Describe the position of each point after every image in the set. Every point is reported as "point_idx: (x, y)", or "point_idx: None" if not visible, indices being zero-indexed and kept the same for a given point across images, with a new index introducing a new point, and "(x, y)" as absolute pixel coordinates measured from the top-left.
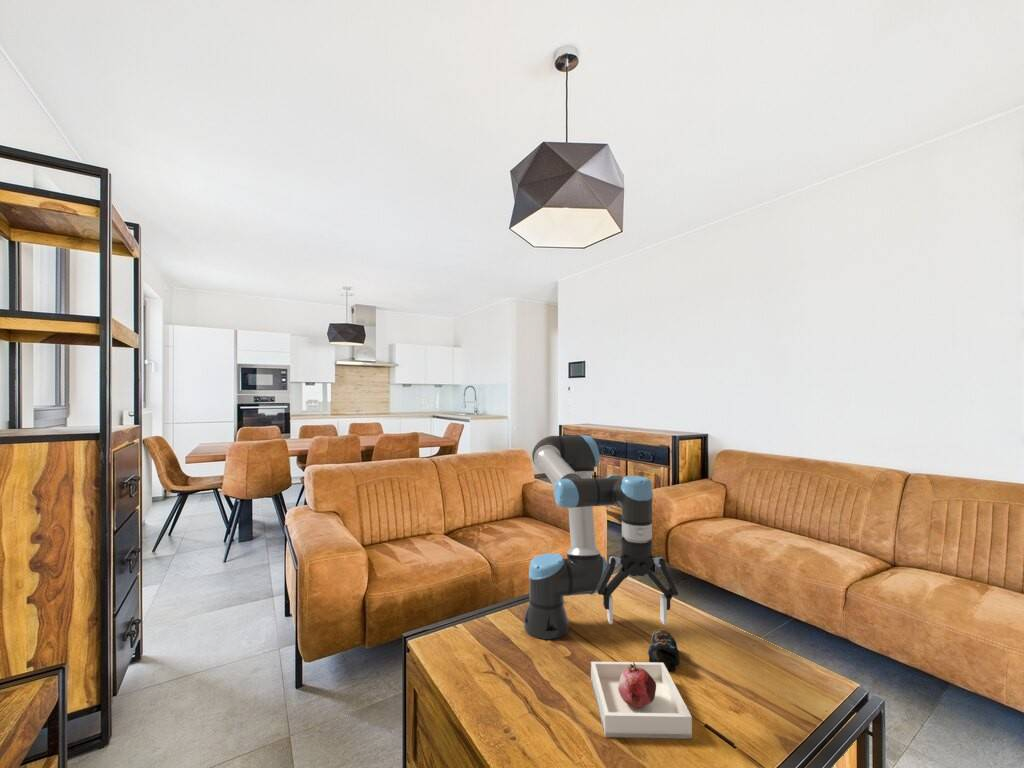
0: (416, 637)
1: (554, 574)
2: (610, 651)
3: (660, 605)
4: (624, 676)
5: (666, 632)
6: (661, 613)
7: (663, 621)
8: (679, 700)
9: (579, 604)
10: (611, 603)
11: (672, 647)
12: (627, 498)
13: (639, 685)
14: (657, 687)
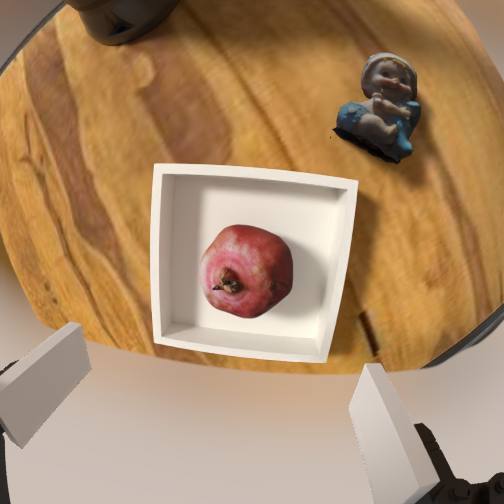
0: None
1: None
2: (250, 66)
3: (390, 425)
4: (206, 280)
5: (409, 72)
6: (370, 409)
7: (352, 416)
8: (327, 322)
9: None
10: (33, 428)
11: (404, 145)
12: None
13: (236, 315)
14: (317, 217)
